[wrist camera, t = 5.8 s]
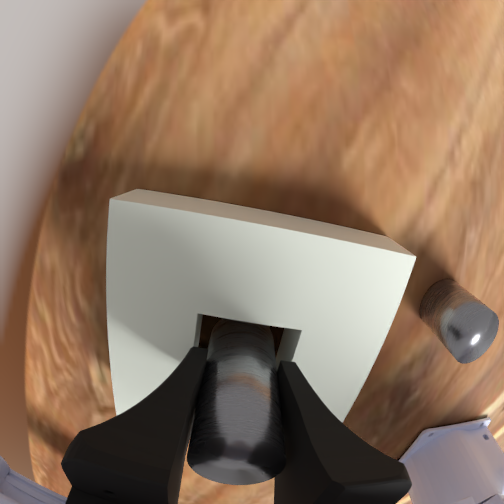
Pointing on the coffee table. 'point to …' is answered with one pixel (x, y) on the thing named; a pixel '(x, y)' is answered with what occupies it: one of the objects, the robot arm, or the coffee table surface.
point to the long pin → (238, 408)
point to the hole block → (245, 290)
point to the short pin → (459, 320)
